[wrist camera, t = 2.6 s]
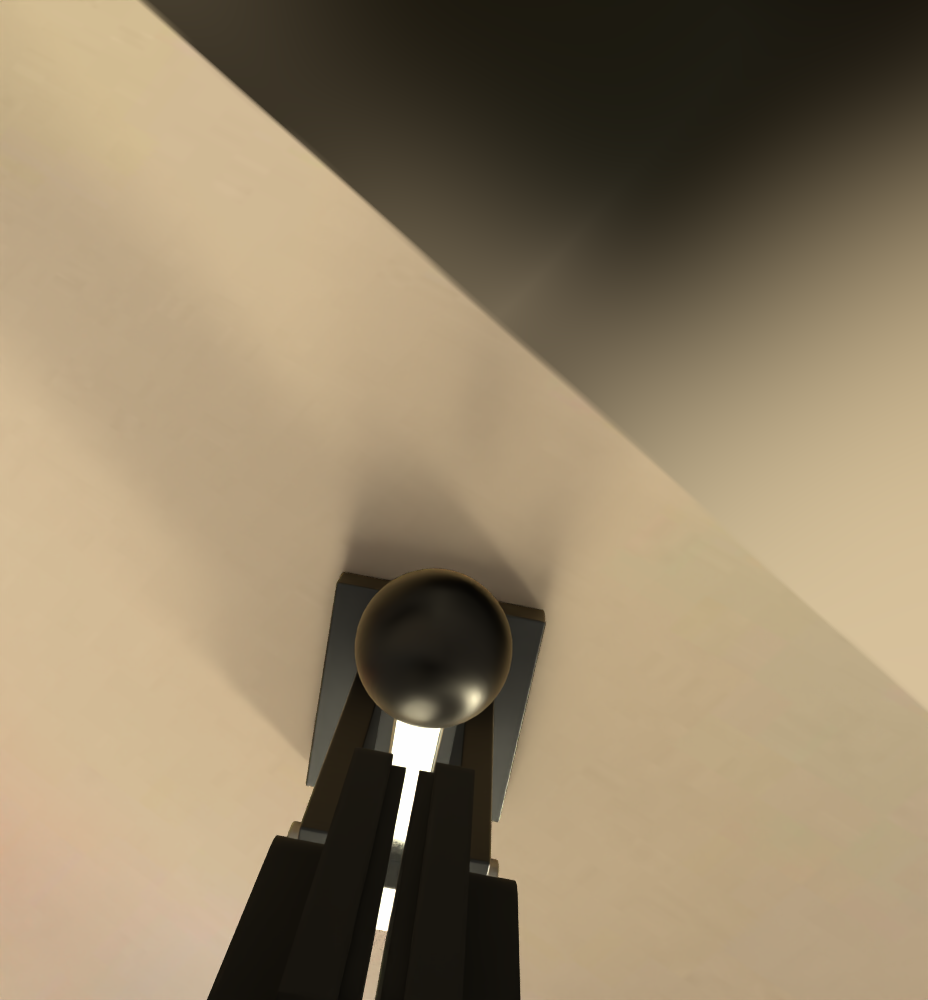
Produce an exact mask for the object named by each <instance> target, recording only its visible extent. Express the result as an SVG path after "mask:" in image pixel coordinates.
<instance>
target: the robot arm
mask: <svg viewBox="0 0 928 1000" xmlns="http://www.w3.org/2000/svg"><path fill="white" fill-rule="evenodd" d="M393 757H394V754H393V753H387V752H382V751H377V750H372V749H366V748H361V747H355V750H354V753H353V756H352V759H351V762H350V765H349V768H348V771H347V775H346V778H345V781H344V784H343V787H342V790H341V793H340V797H339V800H338V803H337V806H336V809H335V812H334V816H333V819H332V822H331V825H330V828H329V831H328V834H327V838H326V841H325V844H320V843H315V842H310V841H305V840H300V839H294V838H289V837H284V836H279V835H277V836H276V837H275V838H274V840H273V842H272V844H271V846H270V848H269V851H268V853H267V856H266V858H265V860H264V863H263V865H262V868H261V870H260V873H259V875H258V877H257V880H256V882H255V885H254V887H253V890H252V892H251V894H250V897H249V899H248V902H247V904H246V906H245V909H244V911H243V914H242V916H241V919H240V921H239V923H238V926H237V928H236V931H235V933H234V936H233V938H232V940H231V943H230V945H229V948H228V950H227V953H226V955H225V957H224V960H223V962H222V965H221V967H220V970H219V972H218V974H217V977H216V979H215V982H214V984H213V987H212V989H211V991H210V994H209V996H208V999H207V1000H362V997H363V992H364V987H365V982H366V977H367V972H368V967H369V962H370V957H371V951H372V946H373V941H374V936H375V931H376V926H377V920H378V915H379V910H380V905H381V900H382V894H383V889H384V884H385V879H386V874H387V868H388V863H389V858H390V853H391V848H392V843H393V837H394V832H395V827H396V822H397V817H398V811H399V806H400V801H401V796H402V791H403V785H404V780H405V775H406V770H407V767H402V766H397V765H392V763H393ZM474 779H475V770H474V769H471V768H466V767H460V766H455V765H450V764H445V763H440V762H436V765H435V770H434V772H428V771H423V770H419V774H418V779H417V784H416V789H415V794H414V799H413V804H412V809H411V814H410V819H409V824H408V829H407V834H406V839H405V844H404V850H403V855H402V860H401V865H400V870H399V875H398V880H397V885H396V890H395V895H394V900H393V905H392V910H391V915H390V921H389V926H388V931H387V936H386V941H385V947H384V952H383V958H382V963H381V969H380V974H379V980H378V986H377V991H376V997H375V1000H520V966H519V928H518V892H517V884H516V881H514V880H509V879H504V878H498V877H493V876H488V875H483V874H478V873H472V872H469V870H470V852H471V834H472V816H473V797H474Z"/></svg>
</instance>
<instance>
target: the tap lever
mask: <svg viewBox="0 0 928 1000" xmlns="http://www.w3.org/2000/svg"><path fill="white" fill-rule="evenodd" d="M355 660H356V666H357V670H358V674H359V677H360V679H361V682H362V684H363V686H364V688H365V690H366V691H367V693H368V694H369V696H370V697H371V698H372V700H373V701H374V702H375V703H376V704H377V705H378V706H379V707H380V708H381V709H382V710H383V711H384V712H386V713H387V714H388V715H390V716H391V717H393V718H394V723H393V729H392V735H391V741H390V748H389V753H393V754H394V757H393V763H392V765H397V766H402V767H407V770H406V775H405V780H404V785H403V791H402V796H401V801H400V806H399V811H398V817H397V822H396V827H395V832H394V837H393V843H392V848H391V853H390V858H389V863H388V868H387V874H386V879H385V884H384V889H383V894H382V900H381V905H380V910H379V915H378V920H377V926H376V929H379V930H384V931H388V926H389V921H390V915H391V910H392V905H393V900H394V895H395V890H396V885H397V880H398V875H399V870H400V865H401V860H402V855H403V850H404V844H405V839H406V834H407V829H408V824H409V819H410V814H411V809H412V804H413V799H414V794H415V789H416V784H417V779H418V774H419V770H423V771H428V772H434V768H435V764H436V760H437V755H438V751H439V747H440V743H441V738H442V734H443V730H444V728H447V727H452V726H455V725H458V724H461V723H464V722H466V721H468V720H470V719H472V718H473V717H475V716H477V715H478V714H479V713H481V712H482V711H483V710H484V709H486V708H487V707H488V706H489V705H490V704H491V703H492V701H493V700H494V699H495V698H496V697H497V695H498V694H499V692H500V691H501V689H502V687H503V685H504V683H505V681H506V679H507V676H508V673H509V670H510V665H511V660H512V636H511V631H510V626H509V623H508V620H507V618H506V615H505V613H504V611H503V609H502V608H501V606H500V604H499V603H498V601H497V600H496V599H495V597H494V596H493V595H492V594H491V593H490V592H489V591H488V590H487V589H486V588H485V587H484V586H483V585H481V584H480V583H479V582H477V581H476V580H474V579H472V578H470V577H469V576H466V575H464V574H462V573H459V572H456V571H452V570H447V569H437V568H431V569H422V570H417V571H413V572H409V573H407V574H404V575H402V576H400V577H398V578H396V579H394V580H392V581H391V582H390V583H388V584H387V585H386V586H384V587H383V588H382V589H381V590H380V591H379V592H378V593H377V594H376V595H375V596H374V597H373V598H372V600H371V601H370V602H369V604H368V605H367V607H366V609H365V610H364V612H363V614H362V617H361V619H360V622H359V625H358V628H357V633H356V638H355Z"/></svg>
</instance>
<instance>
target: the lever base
mask: <svg viewBox="0 0 928 1000" xmlns="http://www.w3.org/2000/svg"><path fill="white" fill-rule="evenodd" d="M390 582H391V581H389V580H383V579H378V578H373V577H368V576H363V575H357V574H352V573H347V572H343V573H342V574H341V576H340V578H339V580H338V582H337V584H336V590H335V597H334V603H333V610H332V616H331V623H330V629H329V636H328V642H327V649H326V655H325V662H324V668H323V675H322V681H321V688H320V694H319V701H318V707H317V714H316V720H315V727H314V733H313V740H312V746H311V753H310V759H309V766H308V772H307V779H306V785H307V786H311V787H314V789H313V792H312V795H311V797H310V800H309V803H308V806H307V808H306V811H305V814H304V816H303V819H302V822H297V821H294V822H293V823H292V825H291V827H290V830H289V832H288V836H287V837H289V838H294V839H300V840H305V841H310V842H315V843H320V844H325V841H326V838H327V834H328V831H329V828H330V825H331V822H332V819H333V816H334V812H335V809H336V806H337V803H338V800H339V797H340V793H341V790H342V787H343V784H344V781H345V778H346V775H347V771H348V768H349V765H350V762H351V759H352V756H353V753H354V750H355V747H361V748H366V749H372V750H377V751H382V752H387V753H389V748H390V741H391V735H392V729H393V723H394V718H393V717H391V716H390V715H388V714H387V713H386V712H384V711H383V710H382V709H381V708H380V707H379V706H378V705H377V704H376V703H375V702H374V701H373V700H372V698H371V697H370V696H369V694H368V693H367V691H366V690H365V688H364V686H363V684H362V682H361V679H360V677H359V674H358V670H357V666H356V660H355V638H356V633H357V628H358V625H359V622H360V619H361V617H362V614H363V612H364V610H365V609H366V607H367V605H368V604H369V602H370V601H371V600H372V598H373V597H374V596H375V595H376V594H377V593H378V592H379V591H380V590H381V589H382V588H383V587H384V586H386V585H387V584H388V583H390ZM498 603H499V604H500V606H501V608H502V609H503V611H504V613H505V615H506V618H507V620H508V623H509V626H510V631H511V636H512V660H511V665H510V670H509V673H508V676H507V679H506V681H505V683H504V685H503V687H502V689H501V691H500V692H499V694H498V695H497V697H496V698H495V699H494V700H493V701H492V703H491V704H490V705H489V706H488V707H487V708H486V709H484V710H483V711H482V712H481V713H479V714H478V715H477V716H475V717H473V718H472V719H470V720H468V721H466V722H464V723H461V724H458V725H455V726H452V727H447V728H444V730H443V734H442V738H441V743H440V747H439V751H438V755H437V760H436V762H440V763H445V764H450V765H455V766H460V767H466V768H471V769H474V770H475V779H474V797H473V816H472V834H471V852H470V870H469V872H472V873H478V874H483V875H488V876H493V877H498V873H499V864H498V860H496V859H491V821H494V822H499V821H500V817H501V813H502V808H503V804H504V800H505V795H506V791H507V787H508V783H509V778H510V774H511V770H512V766H513V761H514V757H515V753H516V748H517V744H518V740H519V736H520V731H521V727H522V723H523V718H524V714H525V710H526V706H527V701H528V697H529V693H530V689H531V684H532V680H533V676H534V671H535V667H536V663H537V659H538V654H539V650H540V646H541V641H542V637H543V633H544V629H545V624H546V622H545V614H544V611H543V610H539V609H534V608H529V607H524V606H519V605H513V604H508V603H503V602H498ZM435 765H436V764H435ZM434 770H435V768H434Z"/></svg>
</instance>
